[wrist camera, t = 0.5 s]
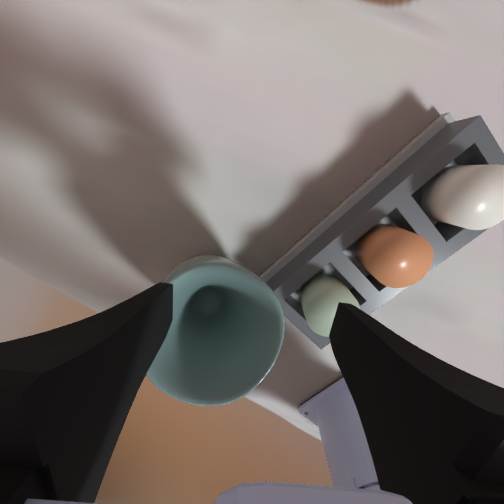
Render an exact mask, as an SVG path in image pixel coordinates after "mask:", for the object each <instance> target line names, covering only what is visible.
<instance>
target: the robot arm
mask: <svg viewBox="0 0 504 504" xmlns="http://www.w3.org/2000/svg"><path fill="white" fill-rule="evenodd" d="M172 320H173V284H170V283H161V282H160V283H158V284H156V285H154V286H152V287H150V288H148V289H147V290H145V291H143V292H141V293H139V294H137V295H136V296H134V297H132V298H130V299H128V300H126V301H124V302H122V303H120V304H118V305H116V306H114V307H112V308H110V309H107V310H105V311H103V312H101V313H98V314H96V315H94V316H91V317H88V318H86V319H83V320H81V321H78V322H75V323H72V324H68V325H66V326H62V327H59V328H56V329H53V330H50V331H47V332H43V333H39V334H35V335H32V336H28V337H24V338H20V339H15V340H11V341H7V342H2V343H0V504H99V503H94V502H95V499H96V496H97V494H98V491H99V488H100V485H101V482H102V480H103V477H104V474H105V471H106V469H107V466H108V464H109V461H110V458H111V456H112V453H113V450H114V448H115V445H116V443H117V440H118V437H119V435H120V433H121V430H122V428H123V425H124V423H125V420H126V418H127V415H128V413H129V410H130V408H131V406H132V403H133V401H134V398H135V396H136V394H137V391H138V389H139V387H140V385H141V383H142V381H143V379H144V377H145V376H146V374H147V372H148V370H149V368H150V366H151V364H152V363H153V361H154V359H155V357H156V355H157V353H158V352H159V350H160V348H161V346H162V344H163V342H164V340H165V338H166V336H167V333H168V331H169V328H170V326H171V323H172ZM329 338H330V342H331V346H332V350H333V353H334V356H335V358H336V361H337V363H338V366H339V368H340V370H341V373H342V375H343V378H341V379H340V380H338V381H337V382H335V383H334V384H332V385H331V386H329V387H328V388H326V389H325V390H323V391H322V392H320V393H319V394H317V395H316V396H314V397H313V398H311V399H310V400H308V401H307V402H305V403H304V404H302V405H301V406H300V407H299V411H300V413H302V414H303V415H304V416H305V417H307V418H308V419H309V420H310V421H312V422H313V423H314V424H315V425H317V426H318V427H319V431H320V435H321V439H322V443H323V448H324V452H325V455H326V460H327V464H328V468H329V472H330V476H331V480H332V484H333V486H320V485H306V484H293V483H292V484H291V483H279V482H266V481H265V482H253V483H242V484H239V485H237V486H235V487H232V488H231V489H228V490H226V491H224V492H222V493H221V494H220V495H219V496H218V497H217V498H216V499H215V501H214V502H213V504H504V388H501V387H499V386H497V385H494V384H492V383H489V382H487V381H485V380H482V379H480V378H478V377H475V376H473V375H471V374H469V373H467V372H465V371H463V370H460V369H458V368H456V367H454V366H452V365H450V364H448V363H446V362H444V361H442V360H440V359H438V358H436V357H435V356H433V355H431V354H429V353H427V352H425V351H424V350H422V349H420V348H418V347H417V346H415V345H413V344H412V343H410V342H408V341H407V340H405V339H404V338H402V337H400V336H399V335H397V334H396V333H394V332H393V331H391V330H390V329H388V328H387V327H385V326H384V325H382V324H381V323H380V322H378V321H377V320H375V319H374V318H372V317H371V316H369V315H368V314H367V313H365V312H364V311H362V310H361V309H359V308H358V307H356V306H354V305H352V304H350V303H341V302H339V303H338V306H337V310H336V313H335V317H334V320H333V323H332V327H331V330H330V334H329Z"/></svg>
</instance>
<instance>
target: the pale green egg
mask: <svg viewBox="0 0 504 504" xmlns="http://www.w3.org/2000/svg"><path fill="white" fill-rule="evenodd" d="M299 300H300V303H301V306H302V309H303V312H304V315H305V318H306V321H307V324H308V326H309V327H310V328H311V330H312V331H314V332H315V333H317V334H319V335H321V336H325V337H329V334H330V330H331V327H332V323H333V320H334V317H335V313H336V310H337V306H338V303H339V302H341V303H350V304H352V305H354V306H356V307H358V308H359V309H360V306H359V303H358V301H357V300H356V299H355V297H354V296H353V295H352V293H351V292H350V291H349V290H348V288H347V287H346V286H345V285H344V283H343V282H342V281H341V280H340V279H339V278H338V277H336V276H335V275H332V274H327V273H321V274H317V275H314V276H313V277H312V278H310V279H309V280H308V281H307V282H305V283H304V284H303V285H302V286H301V288H300V291H299Z"/></svg>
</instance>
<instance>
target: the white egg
mask: <svg viewBox="0 0 504 504" xmlns="http://www.w3.org/2000/svg"><path fill="white" fill-rule="evenodd" d="M421 206H422V209H423V211H424V213H425V214H426V215H427V216H428V217H430V218H431V219H434V220H437V221H441V222H444V223H448V224H452V225H455V226H459V227H462V228H466V229H470V230H483V229H487V228H490V227H492V226H494V225H496V224H498V223H500V222H501V221H502V220H504V165H499V164H492V165H455V166H449V167H445V168H443V169H442V170H441V171H440V172H438V173H437V174H436V175H435V176H434V177H432V178H431V179H430V180H429V181H428V182H427V183H426V184H425V186H424V188H423V191H422V194H421Z"/></svg>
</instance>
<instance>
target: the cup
mask: <svg viewBox="0 0 504 504" xmlns="http://www.w3.org/2000/svg"><path fill="white" fill-rule="evenodd" d="M162 283H170V284H173V320H172V323H171V326H170V328H169V331H168V333H167V336H166V338H165V340H164V342H163V344H162V346H161V348H160V350H159V352H158V353H157V355H156V357H155V359H154V361H153V363H152V364H151V366H150V368H149V370H148V372H147V374H146V376H147V377H148V378H149V379H150V380H151V382H152V383H153V384H154V385H155V386H156V387H158V388H159V389H160V390H161V391H163V392H164V393H165V394H167V395H169V396H171V397H173V398H175V399H177V400H179V401H182V402H185V403H189V404H192V405H200V406H219V405H224V404H228V403H231V402H234V401H236V400H238V399H240V398H242V397H244V396H246V395H247V394H248V393H250V392H251V391H252V390H253V389H255V388H256V387H257V386H258V385H259V384H260V383H261V381H262V380H263V379H264V378H265V377H266V376H267V374H268V373H269V371H270V370H271V368H272V367H273V365H274V364H275V361H276V359H277V357H278V355H279V353H280V350H281V346H282V343H283V339H284V332H285V320H284V312H283V309H282V307H281V304H280V301H279V299H278V298H277V296H276V295H275V293H274V291H273V290H272V289H271V288H270V287H269V285H268V284H267V283H266V282H265V281H264V280H263V279H262V278H260V277H259V276H258V275H256V274H255V273H253V272H252V271H251V270H249V269H248V268H246V267H244V266H242V265H240V264H238V263H236V262H234V261H232V260H230V259H227V258H224V257H220V256H216V255H201V256H195V257H193V258H190V259H188V260H186V261H184V262H183V263H181V264H180V265H178V266H177V267H176V268H175V269H174V270H173V271H172V272H170V273H169V274H168V275H167V277H166V278H165V279H164V280H163V282H162Z"/></svg>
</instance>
